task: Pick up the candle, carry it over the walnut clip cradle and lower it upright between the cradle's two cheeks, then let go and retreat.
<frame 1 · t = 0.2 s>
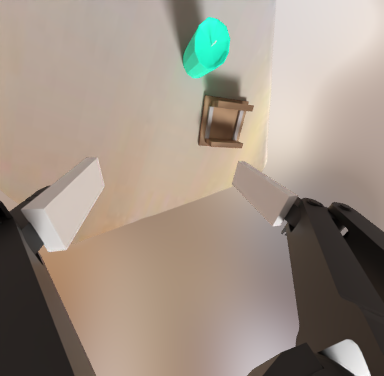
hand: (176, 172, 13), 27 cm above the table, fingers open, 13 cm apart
candle: (195, 61, 31), on the table
clip cradle: (221, 123, 39), on the table
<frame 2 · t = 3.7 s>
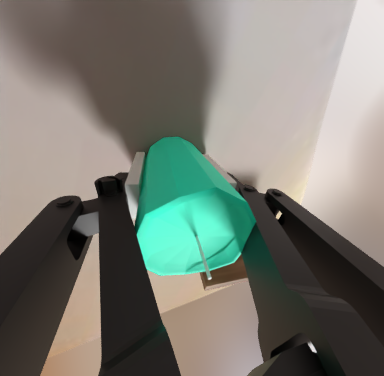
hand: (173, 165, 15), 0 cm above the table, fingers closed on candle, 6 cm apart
candle: (173, 163, 15), on the table, touching gripper
clip cradle: (223, 231, 23), on the table
when the fingers open (3 cm above the table, at t = 8.9 s): candle drops 2 cm, resting on clip cradle.
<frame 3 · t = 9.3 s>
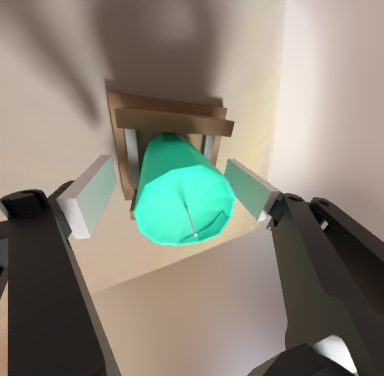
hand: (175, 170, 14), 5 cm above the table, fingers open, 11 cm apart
candle: (170, 157, 17), point 1 cm above the table, touching clip cradle
clip cradle: (170, 155, 18), on the table
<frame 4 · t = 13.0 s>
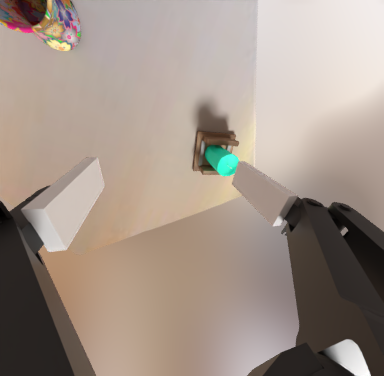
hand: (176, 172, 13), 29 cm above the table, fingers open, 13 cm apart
candle: (213, 153, 43), point 1 cm above the table, touching clip cradle
mug: (47, 21, 24), on the table
clip cradle: (213, 152, 44), on the table
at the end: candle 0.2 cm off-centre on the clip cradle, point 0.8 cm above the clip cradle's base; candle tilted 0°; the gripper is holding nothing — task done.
